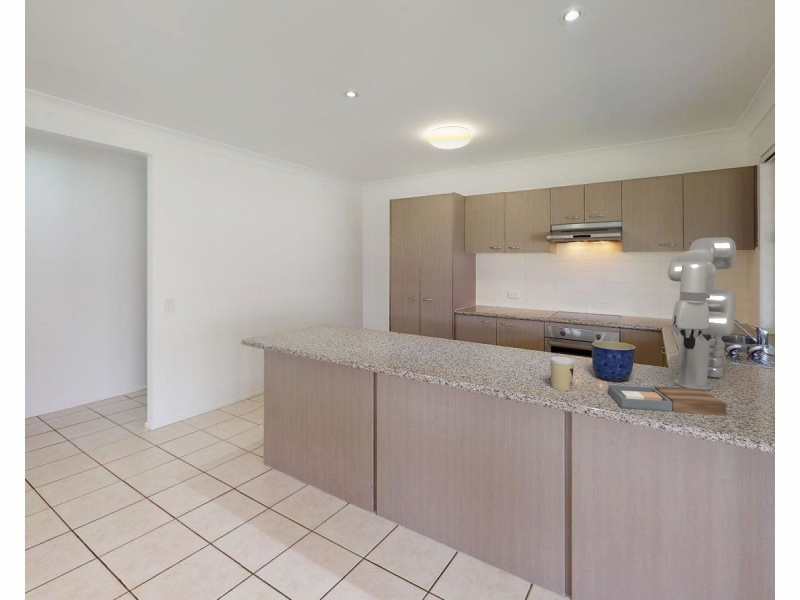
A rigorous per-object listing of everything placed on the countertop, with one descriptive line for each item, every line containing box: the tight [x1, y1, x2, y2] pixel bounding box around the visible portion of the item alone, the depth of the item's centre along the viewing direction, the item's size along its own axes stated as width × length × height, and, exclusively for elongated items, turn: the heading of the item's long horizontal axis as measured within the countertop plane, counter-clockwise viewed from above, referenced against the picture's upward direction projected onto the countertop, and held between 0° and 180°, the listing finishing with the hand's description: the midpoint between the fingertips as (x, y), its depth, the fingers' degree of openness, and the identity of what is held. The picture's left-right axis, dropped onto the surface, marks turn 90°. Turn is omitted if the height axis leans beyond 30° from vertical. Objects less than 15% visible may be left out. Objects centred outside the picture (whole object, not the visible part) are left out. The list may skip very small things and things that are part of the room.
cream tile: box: [621, 391, 644, 399], centre depth 149 cm, size 6×6×2 cm
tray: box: [607, 384, 672, 412], centre depth 149 cm, size 16×16×4 cm
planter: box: [591, 340, 636, 382], centre depth 177 cm, size 17×17×15 cm
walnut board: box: [653, 385, 727, 416], centre depth 145 cm, size 16×16×4 cm
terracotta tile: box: [638, 391, 662, 401], centre depth 148 cm, size 6×6×2 cm
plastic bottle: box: [707, 335, 726, 379], centre depth 178 cm, size 6×7×20 cm
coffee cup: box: [549, 356, 575, 391], centre depth 166 cm, size 9×9×12 cm
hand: (688, 348), depth 144 cm, fingers closed
